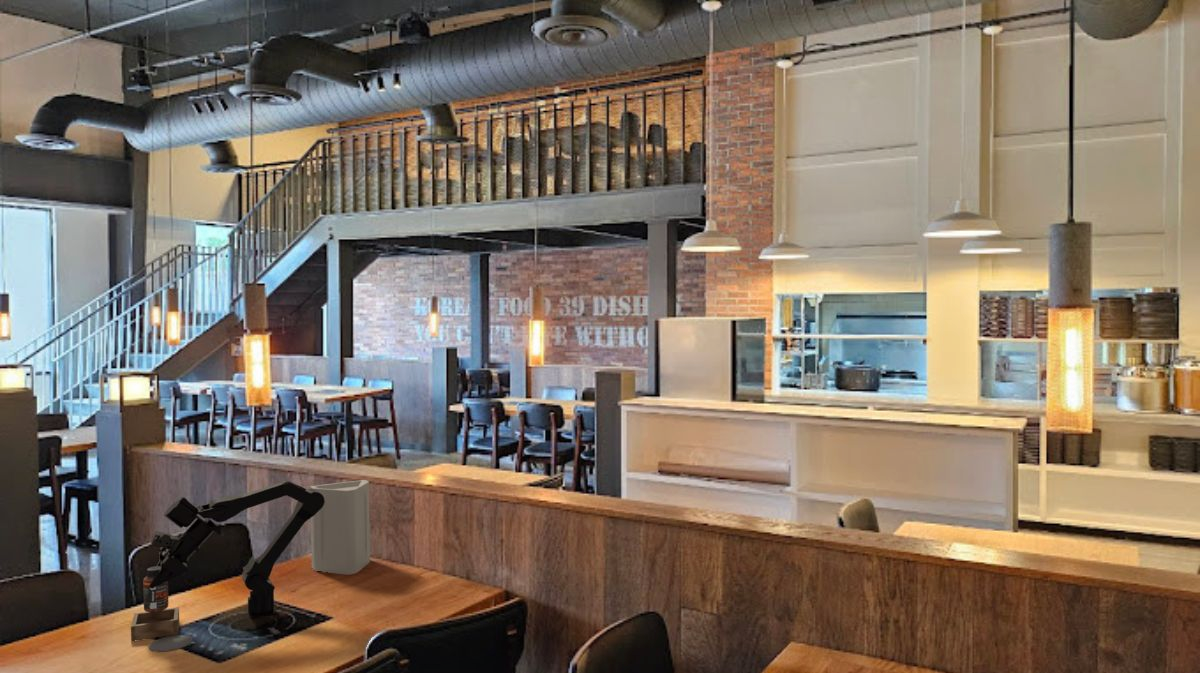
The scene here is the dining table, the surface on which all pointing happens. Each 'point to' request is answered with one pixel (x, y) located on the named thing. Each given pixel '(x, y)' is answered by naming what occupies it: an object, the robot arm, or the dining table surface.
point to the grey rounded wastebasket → (341, 528)
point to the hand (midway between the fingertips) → (149, 584)
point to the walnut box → (155, 624)
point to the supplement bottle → (154, 592)
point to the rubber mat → (170, 643)
